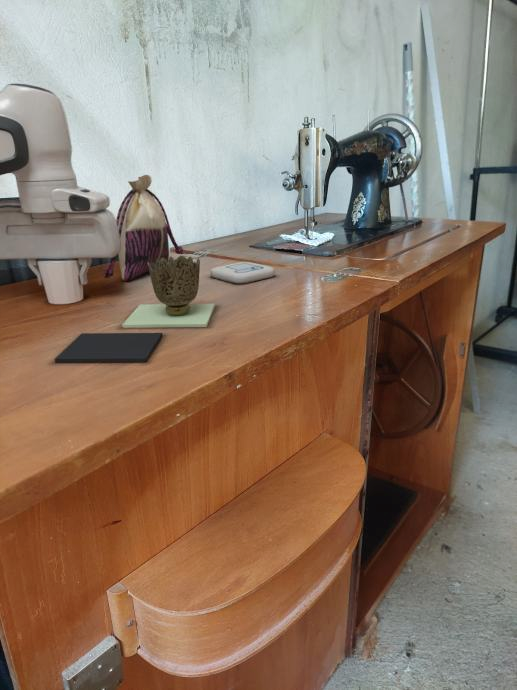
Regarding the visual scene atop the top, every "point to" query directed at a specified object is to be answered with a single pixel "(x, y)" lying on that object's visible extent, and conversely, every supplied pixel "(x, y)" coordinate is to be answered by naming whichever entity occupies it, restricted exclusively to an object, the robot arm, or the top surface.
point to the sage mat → (168, 317)
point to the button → (242, 272)
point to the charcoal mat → (110, 347)
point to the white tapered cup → (61, 280)
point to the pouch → (141, 231)
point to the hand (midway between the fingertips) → (63, 284)
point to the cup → (175, 283)
